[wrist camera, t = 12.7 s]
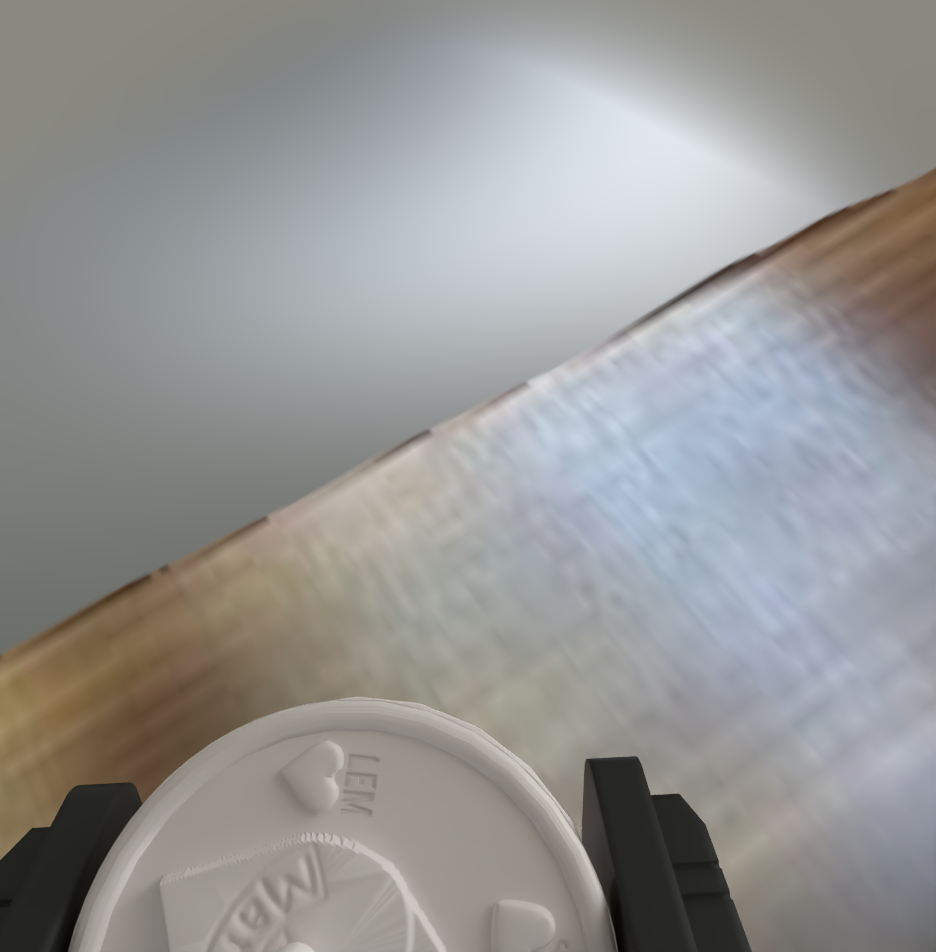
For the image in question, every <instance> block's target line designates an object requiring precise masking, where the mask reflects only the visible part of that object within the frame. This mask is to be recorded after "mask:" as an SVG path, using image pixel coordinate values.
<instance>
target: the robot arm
mask: <svg viewBox="0 0 936 952" xmlns="http://www.w3.org/2000/svg"><path fill="white" fill-rule="evenodd" d="M141 806H142V803H141V800H140V797H139V794H138V791H137V788H136V787H135V785H134V784H133V783H130V782H129V783H111V784H93V785H78V786H76V787H74V788H73V789H72V790H71V791H70V792H69V793H68V795H67V796H66V798H65V800H64V802H63V804H62V805H61V807H60V809H59V811H58V813H57V815H56V817H55V819H54V821H53V823H52V825H51V827H44V828H32V829H31V830H30V831H29V832H28V833H27V834H26V835H25V836H24V837H23V838H22V839H21V840H20V841H19V842H18V843H17V844H16V845H15V846H14V847H13V848H12V849H11V850H10V851H9V852H8V853H7V854H6V855H5V856H4V857H3V858H2V859H1V860H0V952H68V950H69V946H70V942H71V939H72V935H73V932H74V928H75V925H76V923H77V920H78V917H79V914H80V912H81V909H82V906H83V904H84V901H85V898H86V896H87V894H88V892H89V890H90V887H91V885H92V883H93V881H94V879H95V877H96V875H97V872H98V870H99V869H100V867H101V865H102V863H103V862H104V860H105V858H106V856H107V855H108V853H109V851H110V849H111V848H112V846H113V844H114V843H115V841H116V840H117V838H118V837H119V835H120V834H121V832H122V831H123V829H124V828H125V827H126V825H127V824H128V822H129V821H130V819H131V818H132V817H133V816H134V815H135V813H136V812H137V811H138V810H139V808H140V807H141ZM582 844H583V846H584V848H585V850H586V852H587V855H588V857H589V859H590V861H591V863H592V865H593V867H594V870H595V872H596V874H597V877H598V879H599V882H600V884H601V886H602V890H603V893H604V896H605V899H606V902H607V905H608V909H609V912H610V916H611V920H612V924H613V927H614V931H615V937H616V942H617V948H618V952H752V951H751V949H750V946H749V943H748V940H747V938H746V935H745V932H744V929H743V927H742V924H741V921H740V918H739V916H738V913H737V910H736V907H735V905H734V902H733V899H732V900H731V898H730V891H729V888H728V885H727V883H726V880H725V877H724V875H723V872H722V869H721V868H720V867H719V861H718V858H717V855H716V853H715V850H714V847H713V844H712V842H711V839H710V836H709V833H708V831H707V828H706V825H705V824H704V822H703V821H702V820H701V819H700V818H699V817H698V815H697V814H696V813H695V812H694V811H693V809H692V808H691V807H690V806H689V805H688V804H687V802H686V801H685V800H684V799H683V798H682V797H681V795H680V794H666V795H650V791H649V788H648V785H647V782H646V778H645V775H644V772H643V768H642V765H641V763H640V760H639V759H638V757H636V756H632V757H614V758H595V759H586V761H585V770H584V793H583V815H582Z"/></svg>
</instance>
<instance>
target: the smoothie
mask: <svg viewBox="0 0 936 952" xmlns="http://www.w3.org/2000/svg"><path fill="white" fill-rule="evenodd" d="M68 952H618V948H617V942H616V937H615V931H614V927H613V924H612V920H611V916H610V912H609V909H608V905H607V902H606V899H605V896H604V893H603V890H602V886H601V884H600V882H599V879H598V877H597V874H596V872H595V870H594V867H593V865H592V863H591V861H590V859H589V857H588V855H587V852H586V850H585V848H584V846H583V844H582V842H581V839H580V837H579V835H578V833H577V831H576V828H575V826H574V824H573V822H572V820H571V819H570V817H569V816H568V815H567V813H566V812H565V811H564V810H563V808H562V807H561V806H560V804H559V803H558V802H557V801H556V799H555V798H554V797H553V795H552V794H551V793H550V792H549V790H548V789H547V788H546V787H545V785H544V784H543V783H542V781H541V780H540V779H539V778H538V776H537V775H536V774H535V772H534V771H533V770H532V769H531V767H530V766H529V765H527V764H526V763H525V762H523V761H522V760H521V759H519V758H518V757H517V756H516V755H514V754H513V753H512V752H510V751H509V750H508V749H506V748H505V747H504V746H502V745H501V744H500V743H498V742H497V741H496V740H495V739H493V738H492V737H491V736H489V735H488V734H487V733H485V732H484V731H483V730H481V729H480V728H479V727H477V726H475V725H472V724H470V723H467V722H465V721H462V720H460V719H457V718H455V717H452V716H450V715H447V714H445V713H443V712H440V711H438V710H435V709H433V708H430V707H428V706H425V705H423V704H420V703H414V702H405V701H395V700H386V699H377V698H368V697H359V696H356V697H350V698H344V699H338V700H331V701H324V702H317V703H310V704H304V705H300V706H295V707H292V708H288V709H285V710H281V711H278V712H275V713H272V714H270V715H267V716H264V717H261V718H258V719H256V720H254V721H252V722H250V723H248V724H245V725H243V726H241V727H239V728H237V729H235V730H233V731H231V732H230V733H228V734H226V735H224V736H223V737H221V738H219V739H218V740H216V741H214V742H213V743H211V744H209V745H208V746H207V747H205V748H204V749H202V750H201V751H200V752H198V753H197V754H196V755H194V756H193V757H191V758H190V759H189V760H187V761H186V762H185V763H184V764H183V765H182V766H181V767H179V768H178V769H177V770H176V771H175V772H174V773H172V774H171V775H170V776H169V777H168V778H167V779H166V780H165V781H164V782H163V783H162V784H161V785H160V786H159V787H158V788H157V789H156V790H155V791H154V792H153V793H152V794H151V795H150V796H149V797H148V799H147V800H146V801H145V802H144V803H143V805H142V806H141V807H140V808H139V810H138V811H137V812H136V813H135V815H134V816H133V817H132V818H131V819H130V821H129V822H128V824H127V825H126V827H125V828H124V829H123V831H122V832H121V834H120V835H119V837H118V838H117V840H116V841H115V843H114V844H113V846H112V848H111V849H110V851H109V853H108V855H107V856H106V858H105V860H104V862H103V863H102V865H101V867H100V869H99V870H98V872H97V875H96V877H95V879H94V881H93V883H92V885H91V887H90V890H89V892H88V894H87V896H86V898H85V901H84V904H83V906H82V909H81V912H80V914H79V917H78V920H77V923H76V925H75V928H74V932H73V935H72V939H71V942H70V946H69V950H68Z"/></svg>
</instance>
